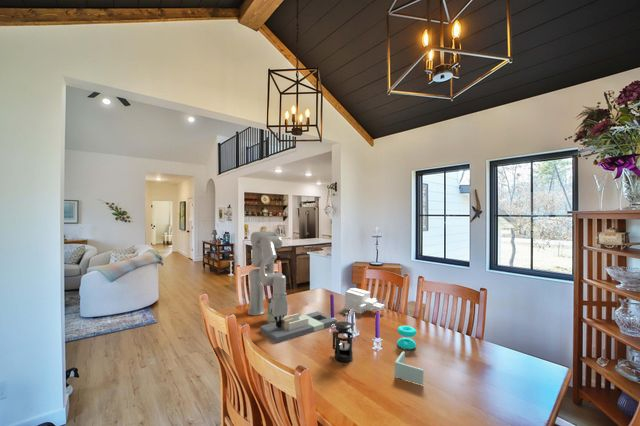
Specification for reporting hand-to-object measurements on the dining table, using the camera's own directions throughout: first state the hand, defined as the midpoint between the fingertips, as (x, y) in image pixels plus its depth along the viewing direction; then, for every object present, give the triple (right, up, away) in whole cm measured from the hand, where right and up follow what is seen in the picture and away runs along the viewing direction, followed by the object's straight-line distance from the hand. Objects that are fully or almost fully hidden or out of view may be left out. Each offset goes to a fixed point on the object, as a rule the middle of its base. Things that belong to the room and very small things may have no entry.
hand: (278, 326), depth 170 cm
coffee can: (-6, -5, +21) cm, 23 cm away
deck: (+12, -5, +10) cm, 16 cm away
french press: (+36, -5, -27) cm, 45 cm away
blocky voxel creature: (+58, -6, +43) cm, 72 cm away
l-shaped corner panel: (+66, -6, -42) cm, 78 cm away
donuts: (+72, -6, -13) cm, 74 cm away
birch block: (+4, -1, +3) cm, 6 cm away
